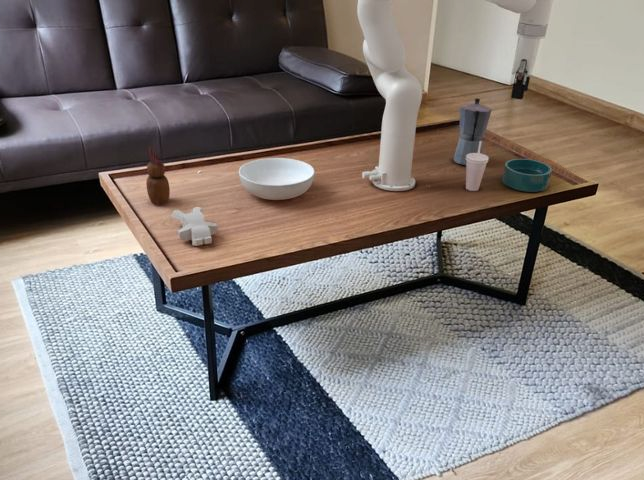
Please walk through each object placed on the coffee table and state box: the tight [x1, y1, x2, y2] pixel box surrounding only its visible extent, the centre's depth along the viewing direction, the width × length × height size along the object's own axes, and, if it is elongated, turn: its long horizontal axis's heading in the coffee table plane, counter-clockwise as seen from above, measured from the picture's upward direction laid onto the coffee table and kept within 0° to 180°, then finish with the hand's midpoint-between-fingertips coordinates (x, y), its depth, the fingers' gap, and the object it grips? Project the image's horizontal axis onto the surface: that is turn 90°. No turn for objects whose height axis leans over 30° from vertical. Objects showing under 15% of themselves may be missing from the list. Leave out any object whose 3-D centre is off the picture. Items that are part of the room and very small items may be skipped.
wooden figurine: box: [146, 145, 171, 206], centre depth 169 cm, size 7×6×15 cm
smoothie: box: [465, 140, 490, 192], centre depth 184 cm, size 6×6×14 cm
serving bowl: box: [238, 157, 316, 201], centre depth 178 cm, size 21×21×7 cm
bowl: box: [501, 158, 553, 193], centre depth 190 cm, size 13×13×6 cm
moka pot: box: [453, 98, 493, 166], centre depth 200 cm, size 10×15×20 cm, turn 174°
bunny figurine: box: [171, 206, 219, 247], centre depth 156 cm, size 10×5×15 cm
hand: (519, 94), depth 182 cm, fingers open, 9 cm apart
